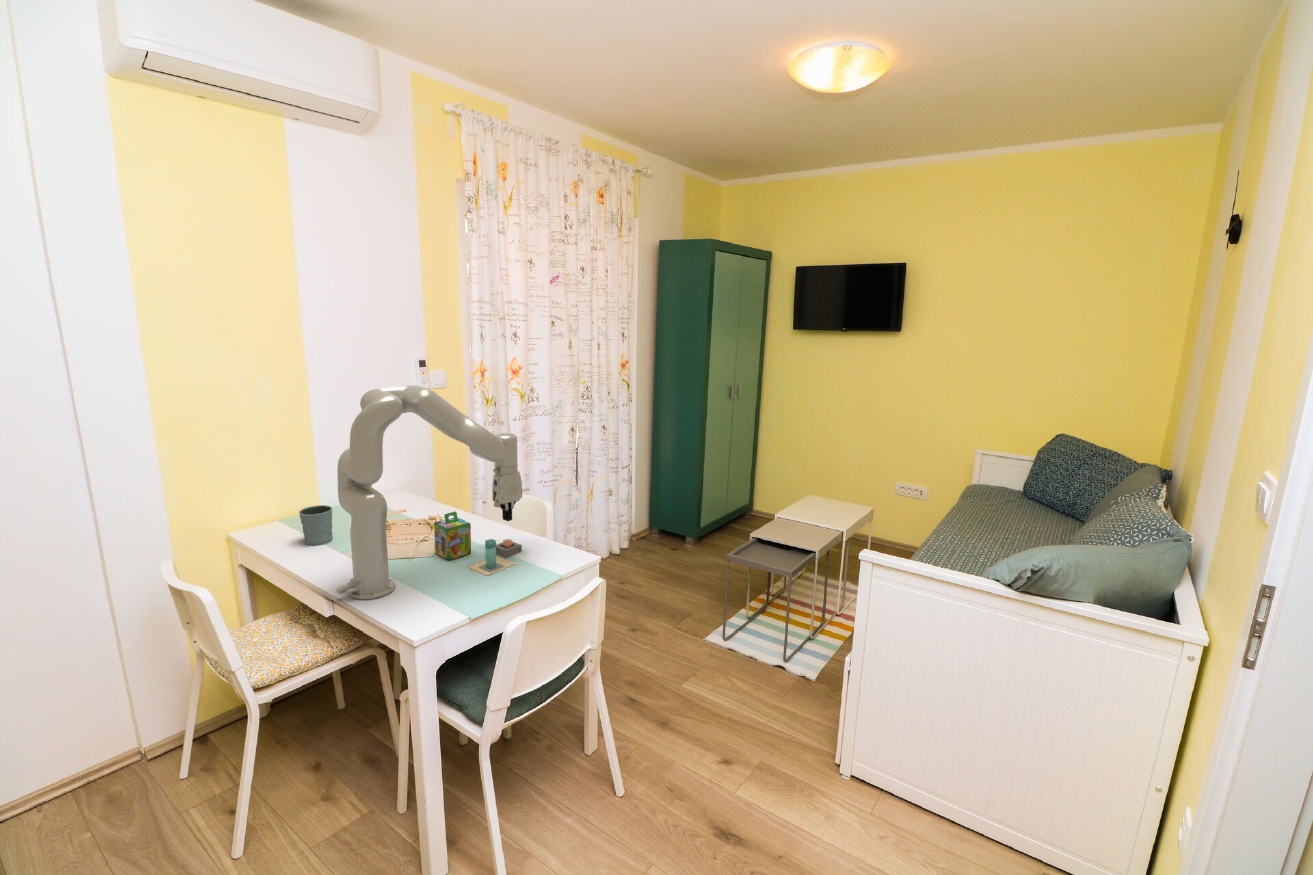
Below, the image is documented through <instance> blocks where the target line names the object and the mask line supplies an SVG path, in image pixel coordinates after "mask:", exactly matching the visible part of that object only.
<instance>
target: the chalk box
mask: <svg viewBox="0 0 1313 875" xmlns="http://www.w3.org/2000/svg"><path fill="white" fill-rule="evenodd" d="M451 516H453V517H451ZM449 517H450V518H449ZM471 528H472V527H471V522H469V521H466V520H465V519H463V518H459V517H458V512H457V511H452V512H446V513H445V514H444V519H442V520H439V521H435V522H434V523H433V530H434V552H435V551H436V555H437V556H439V557H441V558H443V559H444V560H446V561H452V560H455V559H458V558H461V557H464V556H468V555H471V554H472V539H471V538H472V535H471V534H472V532H471Z"/></svg>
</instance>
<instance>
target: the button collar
mask: <svg viewBox="0 0 1313 875" xmlns="http://www.w3.org/2000/svg"><path fill="white" fill-rule="evenodd" d="M522 552H523V545H522V544H521V543H517V542H514V541H512V547H510V548H504V547H503V541H502V542H500V543H496V555H498V556H500V557H502V558H505V559H507V558H509V557H511V556H514V555H517V554H520V553H522Z"/></svg>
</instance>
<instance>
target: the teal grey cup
mask: <svg viewBox="0 0 1313 875" xmlns="http://www.w3.org/2000/svg"><path fill="white" fill-rule="evenodd" d="M298 514H299V518H300V523H301V525H302V527H301V528H302V532H303V537H304V543H305V544H306V546H312V547H316V546H317V547H318V546H323V545H326V544H329V543H331V542H332V541H333V507H332V506H330V505H328V504H327V505H326V504H325V505H321V504H319V505H312V506H307V507H304V508H302V509H300V510H299V512H298Z"/></svg>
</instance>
